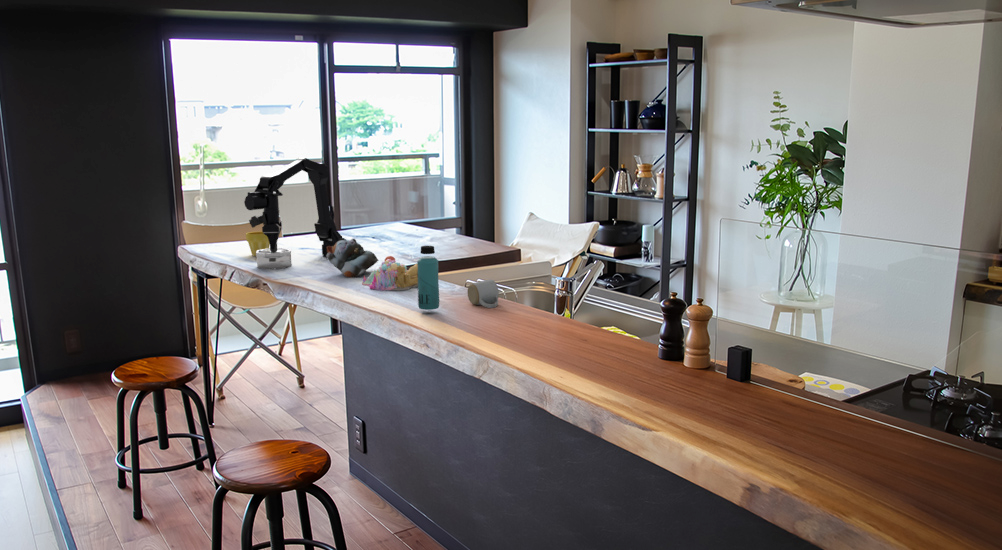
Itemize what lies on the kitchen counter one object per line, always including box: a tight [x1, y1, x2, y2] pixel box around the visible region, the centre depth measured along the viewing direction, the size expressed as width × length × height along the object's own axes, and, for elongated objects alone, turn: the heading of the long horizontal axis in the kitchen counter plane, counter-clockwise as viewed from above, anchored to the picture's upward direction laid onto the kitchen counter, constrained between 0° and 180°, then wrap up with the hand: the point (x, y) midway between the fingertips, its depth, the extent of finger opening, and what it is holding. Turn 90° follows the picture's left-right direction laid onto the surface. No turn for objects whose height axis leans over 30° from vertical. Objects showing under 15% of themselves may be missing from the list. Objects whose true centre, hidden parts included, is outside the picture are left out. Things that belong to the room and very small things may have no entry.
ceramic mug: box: [467, 278, 500, 309], centre depth 231 cm, size 10×8×7 cm
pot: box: [255, 247, 293, 270], centre depth 296 cm, size 13×19×6 cm
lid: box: [261, 241, 286, 253], centre depth 295 cm, size 10×10×5 cm
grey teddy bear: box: [325, 237, 379, 279], centre depth 280 cm, size 17×14×16 cm
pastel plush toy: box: [361, 255, 418, 291], centre depth 262 cm, size 25×24×9 cm
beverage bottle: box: [416, 245, 440, 311], centre depth 220 cm, size 6×7×20 cm
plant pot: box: [245, 230, 270, 257], centre depth 321 cm, size 10×10×10 cm
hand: (273, 247), depth 295 cm, fingers open, 9 cm apart
